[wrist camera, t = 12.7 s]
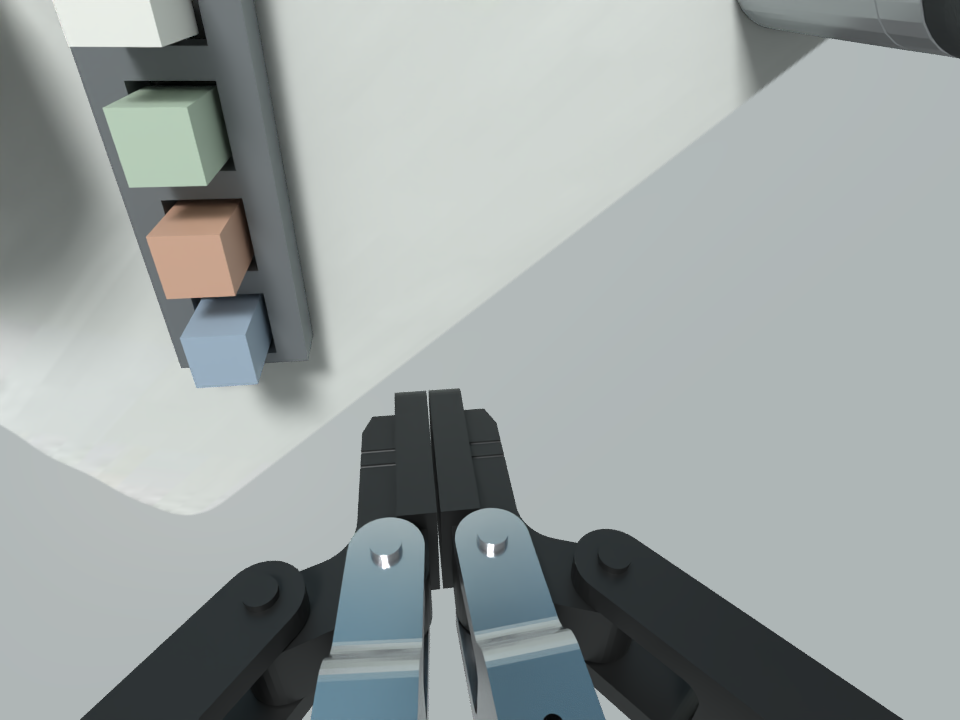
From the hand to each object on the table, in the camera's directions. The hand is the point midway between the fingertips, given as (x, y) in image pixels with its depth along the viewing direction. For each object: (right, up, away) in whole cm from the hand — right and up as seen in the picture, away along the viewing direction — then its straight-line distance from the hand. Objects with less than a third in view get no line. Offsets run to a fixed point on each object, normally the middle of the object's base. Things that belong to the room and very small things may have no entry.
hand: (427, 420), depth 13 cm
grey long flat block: (-19, +16, +29) cm, 38 cm away
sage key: (-18, +18, +25) cm, 36 cm away
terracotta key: (-19, +11, +29) cm, 36 cm away
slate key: (-19, +5, +34) cm, 39 cm away
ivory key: (-18, +23, +20) cm, 35 cm away
